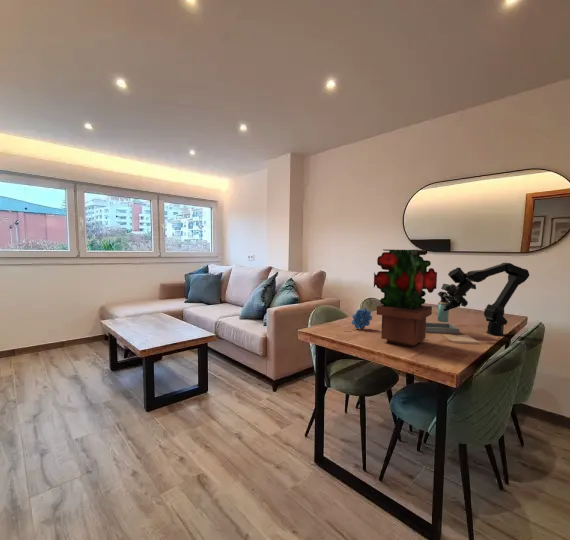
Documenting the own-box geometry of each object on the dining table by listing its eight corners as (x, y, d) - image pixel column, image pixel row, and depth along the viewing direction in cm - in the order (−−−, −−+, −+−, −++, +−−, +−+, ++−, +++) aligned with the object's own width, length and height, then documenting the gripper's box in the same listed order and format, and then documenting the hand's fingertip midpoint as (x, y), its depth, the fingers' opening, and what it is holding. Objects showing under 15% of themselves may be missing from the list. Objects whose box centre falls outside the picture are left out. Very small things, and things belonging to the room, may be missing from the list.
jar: (443, 319, 164) (444, 301, 163) (450, 321, 158) (451, 303, 158) (435, 320, 162) (436, 302, 162) (442, 322, 157) (443, 303, 157)
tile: (467, 337, 155) (467, 335, 155) (478, 344, 144) (478, 342, 144) (442, 336, 157) (442, 334, 157) (452, 342, 145) (452, 340, 145)
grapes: (369, 327, 174) (369, 306, 173) (373, 330, 167) (373, 309, 167) (349, 327, 174) (350, 306, 173) (352, 330, 167) (353, 308, 166)
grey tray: (449, 329, 171) (449, 323, 171) (458, 335, 159) (459, 328, 159) (416, 328, 173) (416, 322, 173) (423, 333, 161) (423, 327, 161)
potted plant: (372, 342, 144) (374, 249, 141) (389, 333, 161) (392, 250, 158) (420, 352, 129) (424, 249, 127) (434, 341, 146) (438, 250, 144)
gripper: (441, 277, 169) (422, 296, 169) (463, 280, 150) (440, 301, 150) (454, 291, 169) (435, 310, 170) (477, 295, 151) (455, 317, 151)
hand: (440, 309), depth 160 cm, fingers closed on jar, 5 cm apart
